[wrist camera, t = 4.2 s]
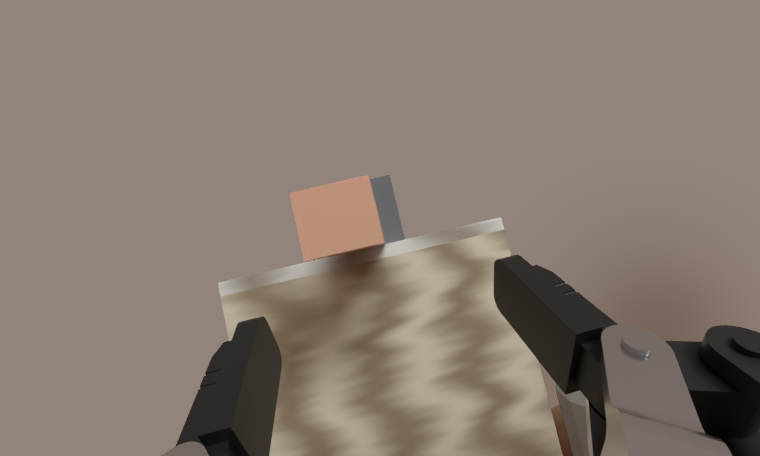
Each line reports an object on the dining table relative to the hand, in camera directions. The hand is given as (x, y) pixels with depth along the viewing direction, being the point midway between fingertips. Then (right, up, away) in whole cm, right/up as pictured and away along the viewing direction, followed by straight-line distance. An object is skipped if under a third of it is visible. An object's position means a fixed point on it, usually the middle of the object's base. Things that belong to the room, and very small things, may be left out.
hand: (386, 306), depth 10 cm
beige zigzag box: (+6, -30, +16) cm, 35 cm away
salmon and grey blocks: (-1, +1, +12) cm, 12 cm away
